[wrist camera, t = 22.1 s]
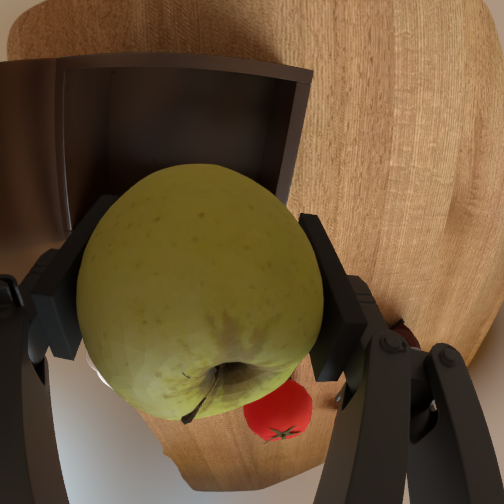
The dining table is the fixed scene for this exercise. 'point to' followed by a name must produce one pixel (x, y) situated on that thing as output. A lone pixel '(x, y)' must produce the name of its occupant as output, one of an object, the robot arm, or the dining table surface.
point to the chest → (172, 121)
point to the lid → (28, 165)
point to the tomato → (280, 412)
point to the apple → (198, 293)
